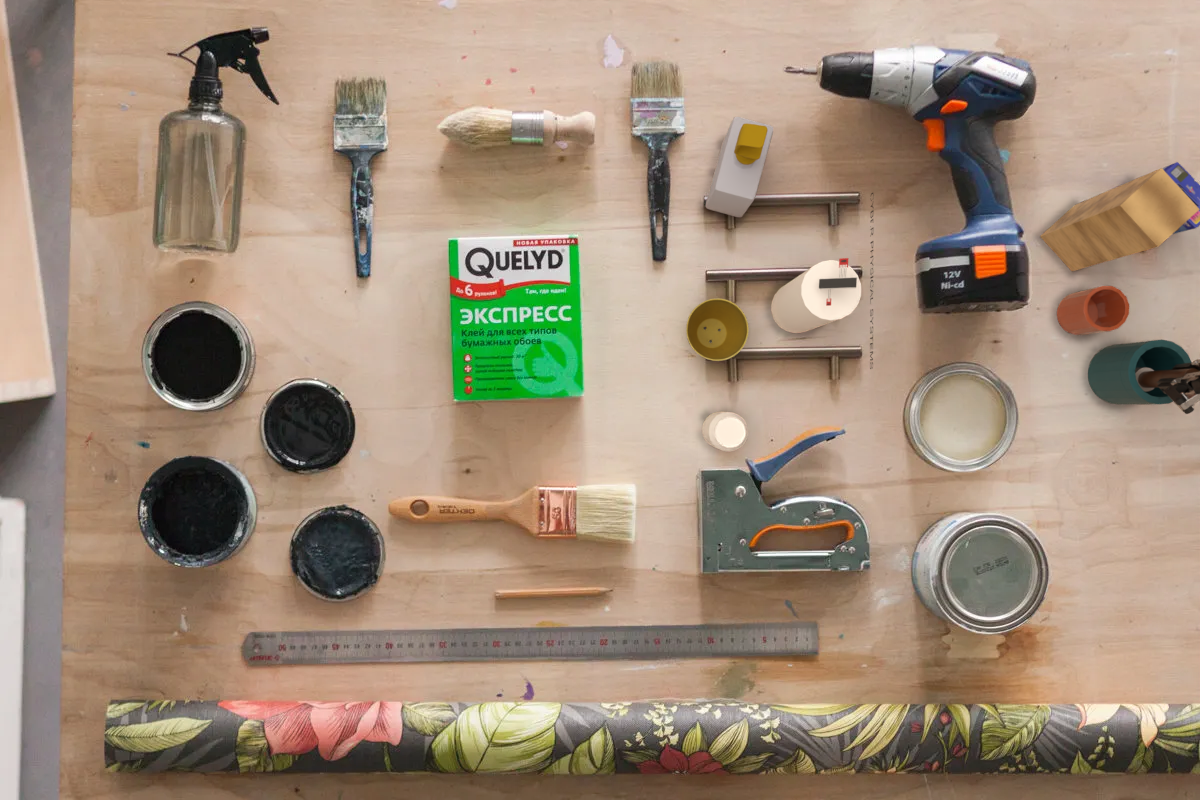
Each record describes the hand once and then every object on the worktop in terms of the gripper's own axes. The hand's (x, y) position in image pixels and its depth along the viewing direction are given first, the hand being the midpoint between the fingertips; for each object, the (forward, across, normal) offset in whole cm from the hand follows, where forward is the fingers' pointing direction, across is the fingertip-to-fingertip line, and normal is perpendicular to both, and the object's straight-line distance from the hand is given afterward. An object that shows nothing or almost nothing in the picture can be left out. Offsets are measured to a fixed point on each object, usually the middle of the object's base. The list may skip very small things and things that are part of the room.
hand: (1170, 378), depth 125 cm
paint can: (+15, -30, +44) cm, 56 cm away
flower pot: (+15, -44, +51) cm, 69 cm away
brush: (+11, 0, 0) cm, 11 cm away
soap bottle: (+15, -24, +68) cm, 74 cm away
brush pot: (+15, +4, +12) cm, 20 cm away
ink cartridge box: (+15, +23, +18) cm, 33 cm away
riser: (+15, +12, +22) cm, 29 cm away
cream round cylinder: (+15, -54, +38) cm, 68 cm away
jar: (+15, +2, 0) cm, 15 cm away
